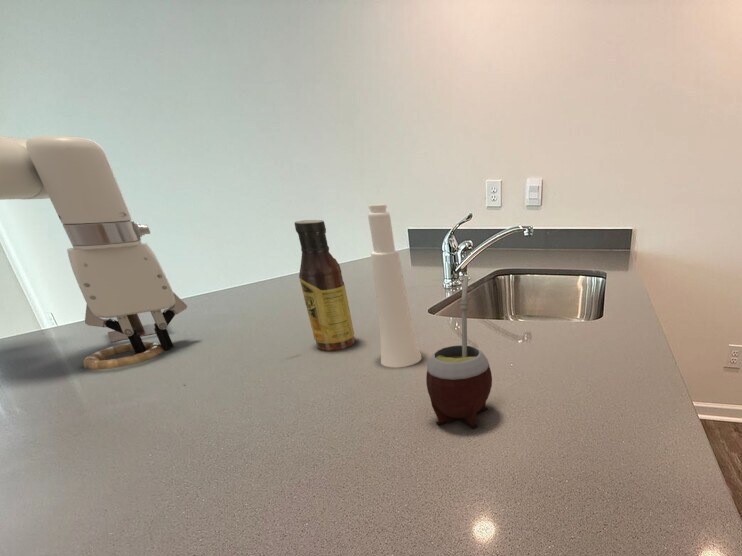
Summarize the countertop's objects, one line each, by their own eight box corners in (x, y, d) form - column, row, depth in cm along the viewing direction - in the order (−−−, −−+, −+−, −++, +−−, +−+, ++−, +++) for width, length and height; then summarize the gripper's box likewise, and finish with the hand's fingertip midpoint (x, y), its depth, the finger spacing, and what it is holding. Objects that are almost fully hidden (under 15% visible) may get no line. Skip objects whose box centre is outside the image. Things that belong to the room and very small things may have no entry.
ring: (87, 379, 59) (81, 368, 58) (86, 362, 65) (80, 351, 64) (170, 360, 65) (165, 350, 64) (161, 346, 71) (157, 336, 70)
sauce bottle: (317, 343, 70) (286, 220, 62) (355, 337, 72) (330, 218, 64) (317, 356, 65) (283, 223, 56) (358, 349, 67) (331, 220, 58)
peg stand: (113, 347, 71) (85, 290, 67) (110, 337, 76) (84, 283, 72) (169, 335, 76) (147, 282, 72) (163, 326, 81) (142, 276, 77)
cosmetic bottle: (384, 372, 59) (354, 206, 49) (378, 358, 64) (350, 204, 54) (425, 364, 61) (405, 204, 51) (417, 351, 66) (396, 203, 56)
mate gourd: (447, 442, 42) (430, 299, 35) (420, 411, 48) (401, 284, 41) (508, 421, 46) (504, 287, 39) (475, 394, 52) (467, 275, 45)
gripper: (168, 229, 66) (208, 336, 74) (26, 239, 56) (90, 362, 64) (176, 232, 61) (218, 346, 70) (22, 243, 51) (91, 375, 60)
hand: (156, 353), depth 67 cm, fingers closed on ring, 2 cm apart
